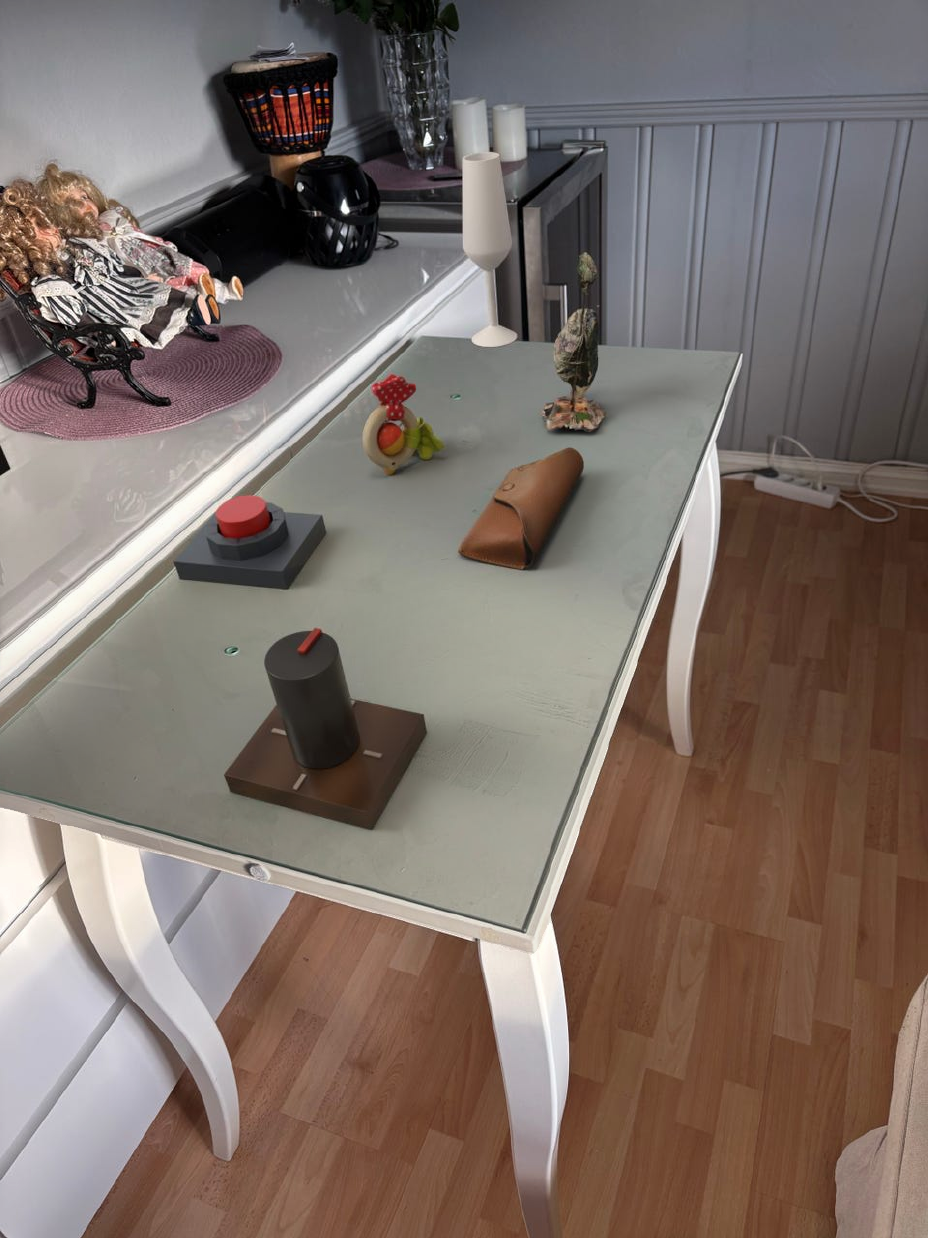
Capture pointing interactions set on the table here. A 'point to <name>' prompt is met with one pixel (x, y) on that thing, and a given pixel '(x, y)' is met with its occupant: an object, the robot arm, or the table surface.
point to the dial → (313, 698)
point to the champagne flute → (486, 233)
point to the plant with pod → (577, 362)
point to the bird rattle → (396, 427)
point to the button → (243, 516)
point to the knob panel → (336, 790)
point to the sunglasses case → (523, 511)
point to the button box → (253, 551)
